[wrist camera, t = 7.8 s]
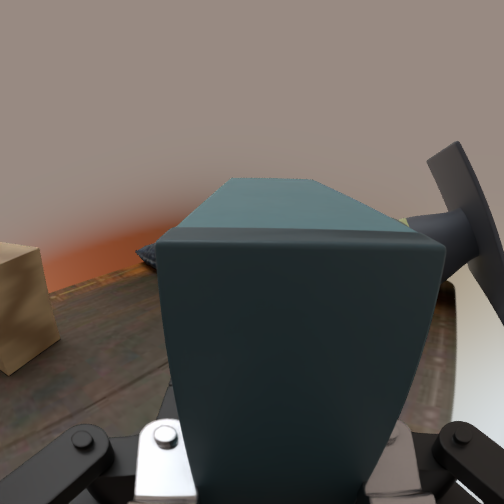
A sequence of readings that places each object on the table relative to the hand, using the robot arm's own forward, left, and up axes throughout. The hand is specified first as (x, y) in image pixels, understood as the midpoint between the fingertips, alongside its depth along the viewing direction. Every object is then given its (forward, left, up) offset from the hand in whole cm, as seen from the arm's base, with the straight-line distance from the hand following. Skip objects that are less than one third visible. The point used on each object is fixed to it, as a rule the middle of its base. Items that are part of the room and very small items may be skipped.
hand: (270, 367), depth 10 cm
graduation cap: (+27, +23, -6) cm, 36 cm away
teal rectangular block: (0, -1, -7) cm, 7 cm away
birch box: (-23, +19, -11) cm, 32 cm away
